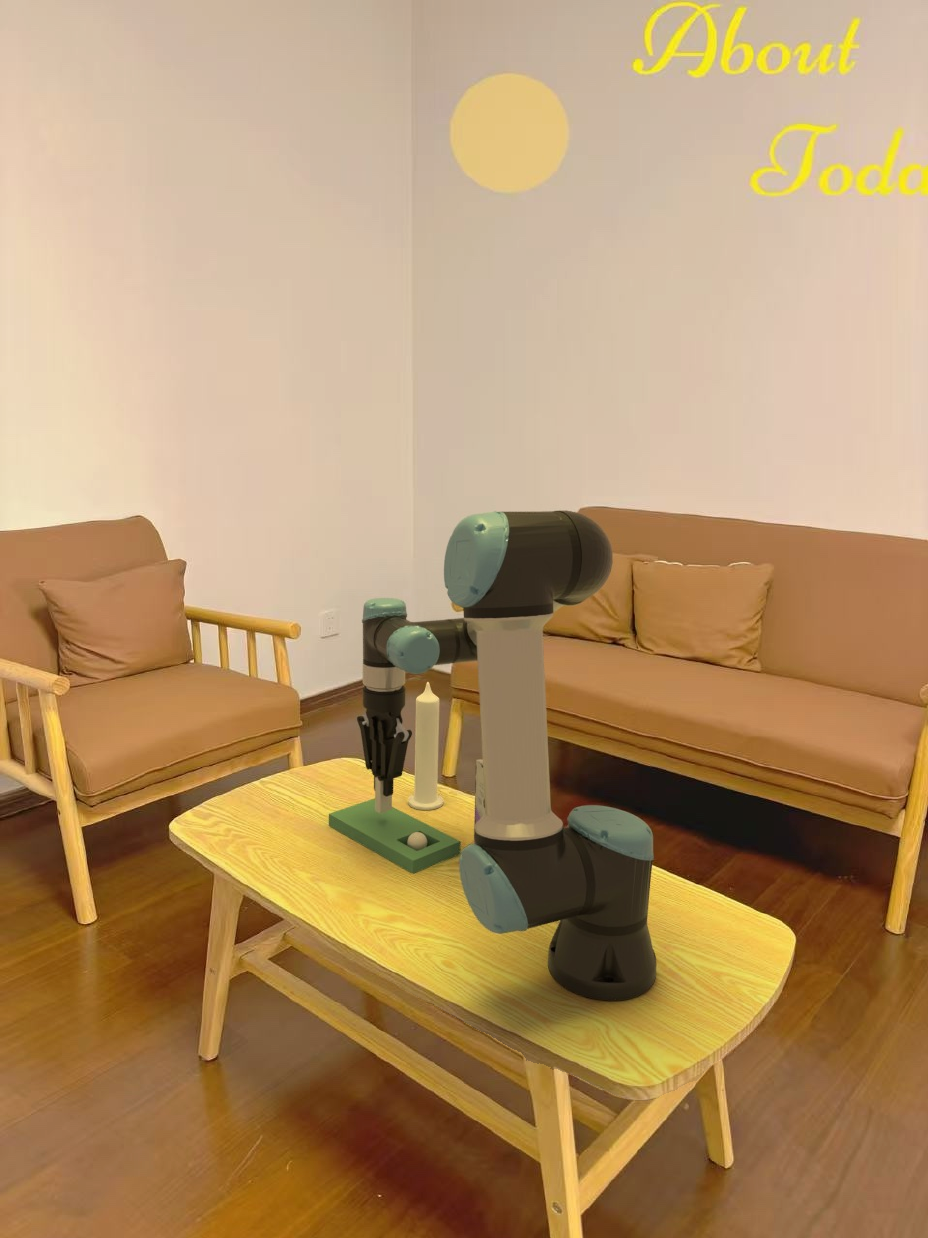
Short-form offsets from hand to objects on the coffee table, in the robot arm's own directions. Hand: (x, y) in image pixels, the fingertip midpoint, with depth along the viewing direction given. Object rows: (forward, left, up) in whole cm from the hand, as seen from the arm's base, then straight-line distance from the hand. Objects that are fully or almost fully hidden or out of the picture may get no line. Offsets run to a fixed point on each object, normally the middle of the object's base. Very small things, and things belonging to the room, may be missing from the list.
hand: (383, 810), depth 169 cm
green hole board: (-3, 0, -5) cm, 5 cm away
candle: (+5, -15, -5) cm, 17 cm away
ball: (-9, 0, -3) cm, 10 cm away
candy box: (-21, -10, -5) cm, 24 cm away
